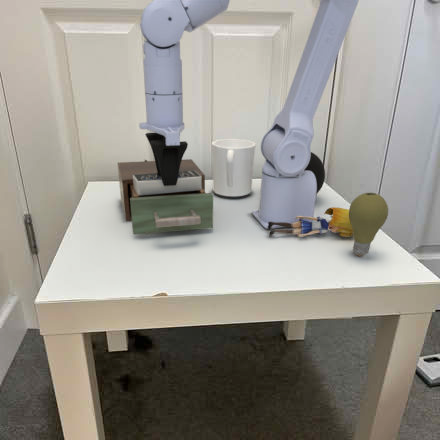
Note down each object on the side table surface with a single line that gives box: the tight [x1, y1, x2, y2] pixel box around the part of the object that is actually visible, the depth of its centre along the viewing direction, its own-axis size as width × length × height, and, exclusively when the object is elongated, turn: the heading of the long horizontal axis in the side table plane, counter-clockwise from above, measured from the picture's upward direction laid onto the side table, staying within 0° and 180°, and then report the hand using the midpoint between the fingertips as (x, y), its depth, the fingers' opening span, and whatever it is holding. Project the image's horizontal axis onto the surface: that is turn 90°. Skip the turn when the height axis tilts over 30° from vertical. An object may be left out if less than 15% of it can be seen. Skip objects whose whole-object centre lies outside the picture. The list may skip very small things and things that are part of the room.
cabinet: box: [117, 158, 206, 222], centre depth 86 cm, size 12×15×8 cm
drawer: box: [129, 183, 214, 235], centre depth 77 cm, size 15×13×6 cm
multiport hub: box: [133, 170, 202, 195], centre depth 77 cm, size 4×11×2 cm, turn 110°
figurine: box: [267, 206, 353, 238], centre depth 76 cm, size 5×5×15 cm
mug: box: [211, 138, 257, 200], centre depth 93 cm, size 11×9×10 cm
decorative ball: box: [304, 151, 326, 195], centre depth 91 cm, size 10×10×10 cm
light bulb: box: [348, 192, 389, 258], centre depth 68 cm, size 6×6×10 cm
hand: (167, 180), depth 76 cm, fingers closed on multiport hub, 4 cm apart
